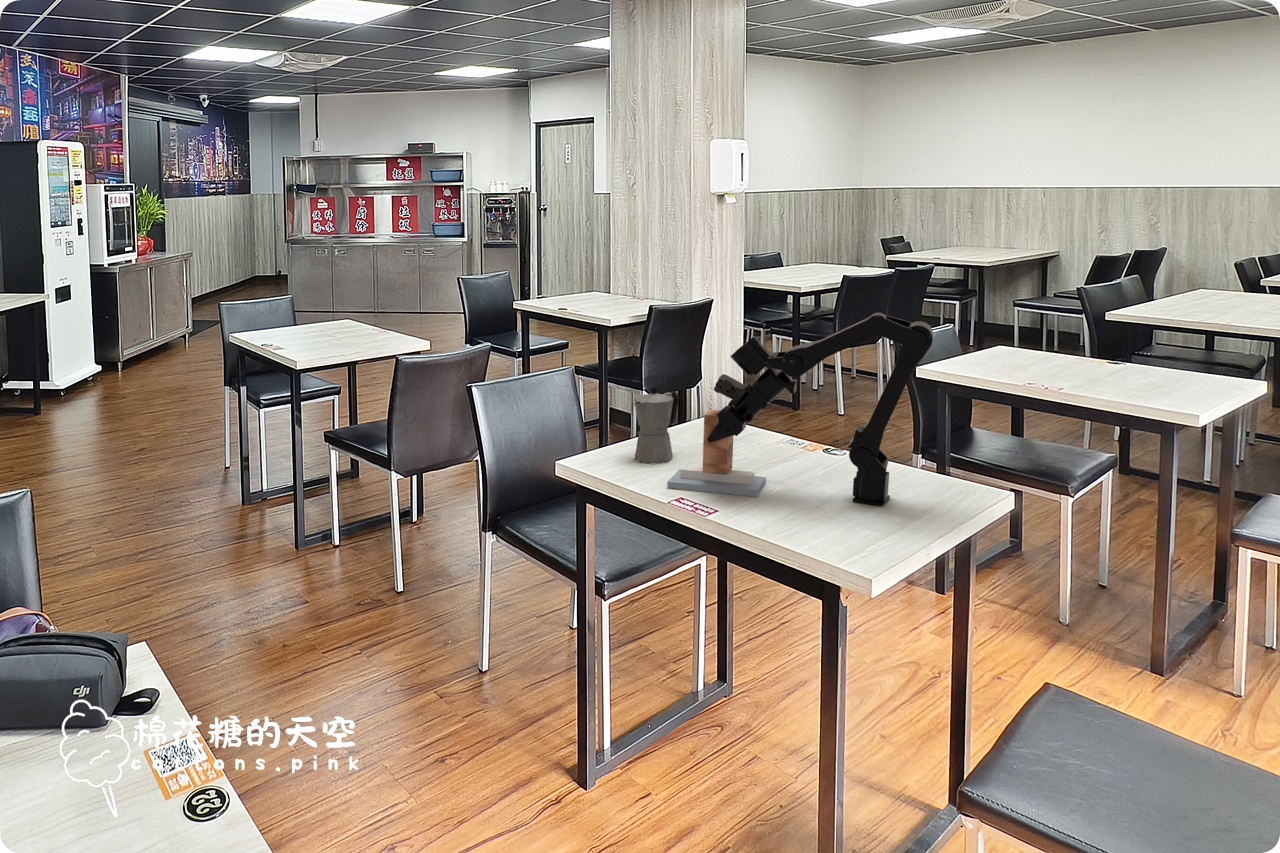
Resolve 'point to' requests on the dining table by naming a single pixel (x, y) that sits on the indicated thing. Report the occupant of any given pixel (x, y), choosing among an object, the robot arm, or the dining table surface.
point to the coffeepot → (655, 425)
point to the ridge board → (717, 482)
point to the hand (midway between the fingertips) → (711, 437)
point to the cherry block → (716, 448)
